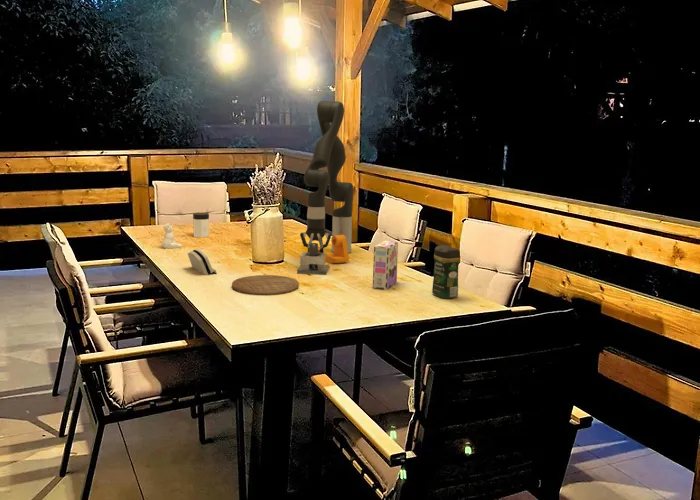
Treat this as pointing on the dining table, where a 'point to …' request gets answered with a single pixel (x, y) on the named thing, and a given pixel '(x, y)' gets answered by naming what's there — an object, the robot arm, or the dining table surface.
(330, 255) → the bracket
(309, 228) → the robot arm
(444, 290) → the coffee jar
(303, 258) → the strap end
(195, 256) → the beige fin shape
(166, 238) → the white creature statuette
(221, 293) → the dining table surface
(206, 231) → the jar
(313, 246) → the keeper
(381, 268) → the candy box
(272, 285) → the trivet
